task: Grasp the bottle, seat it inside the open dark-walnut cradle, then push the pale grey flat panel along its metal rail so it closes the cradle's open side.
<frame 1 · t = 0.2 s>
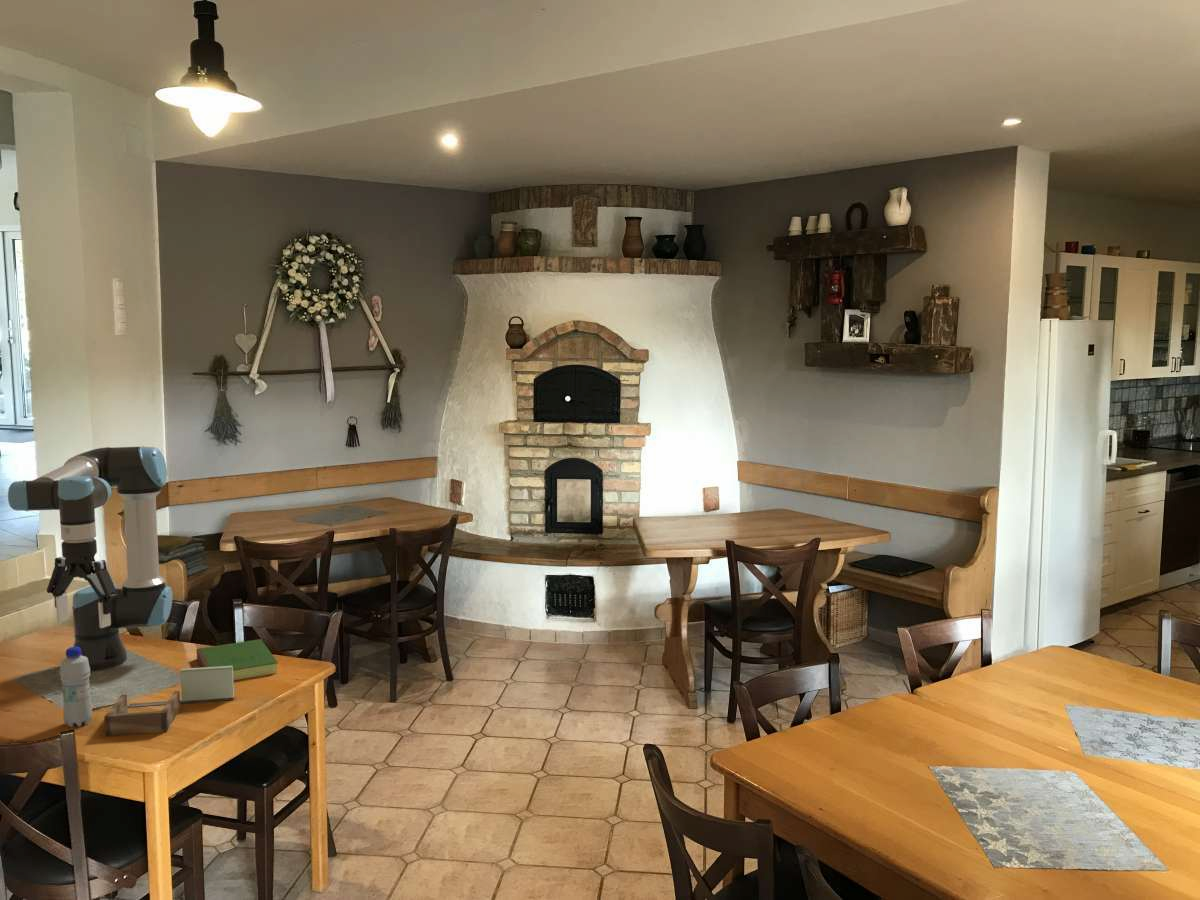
hand: (84, 623, 233), 26 cm above the table, fingers open, 13 cm apart
pale grey flat panel: (207, 683, 252), point 5 cm above the table, slide at 13.0 cm
bottle: (78, 724, 237), on the table
cradle: (144, 720, 239), on the table
hardcover book: (237, 668, 279), on the table
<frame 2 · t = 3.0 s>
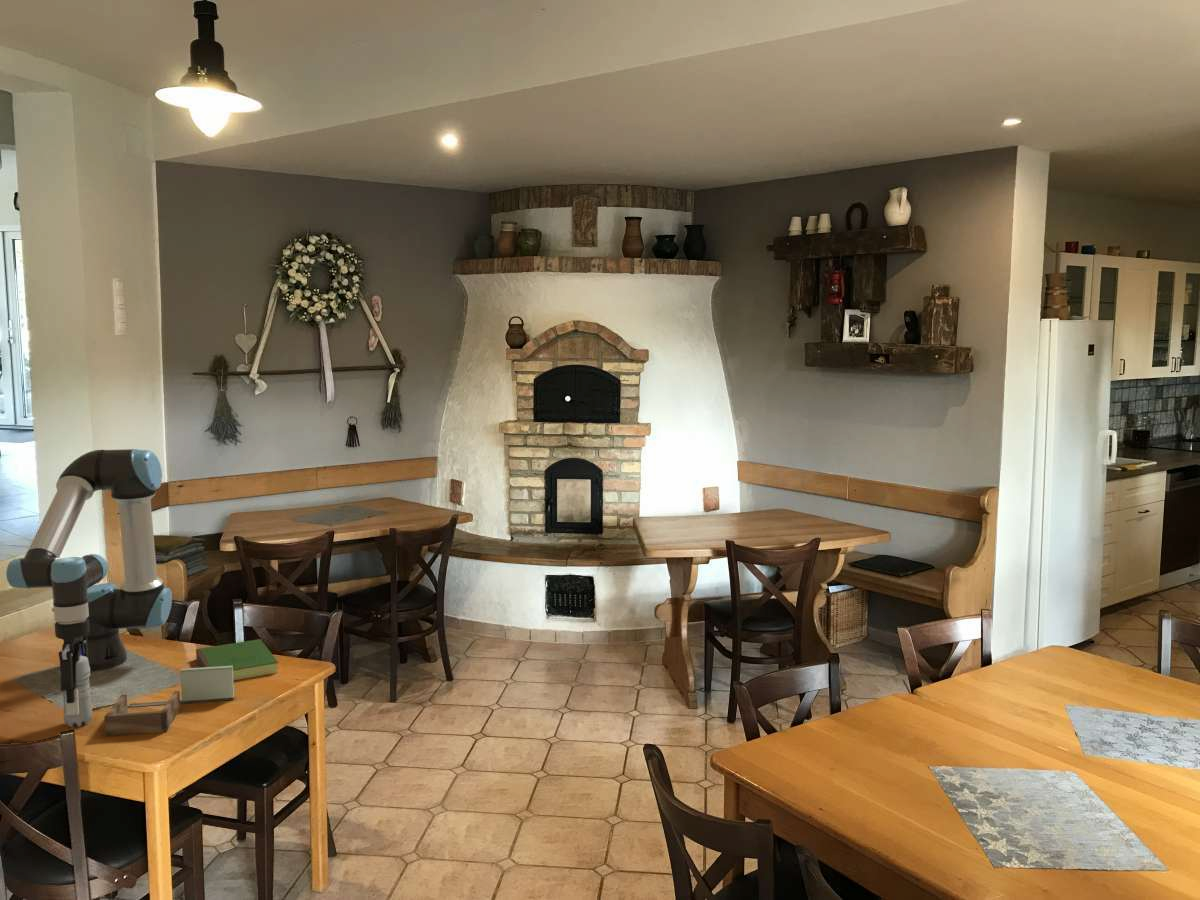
hand: (77, 708, 237), 4 cm above the table, fingers closed on bottle, 6 cm apart
bottle: (78, 724, 237), on the table, touching gripper
everything else where it was.
when the fingers open (6 cm above the table, at t = 9.6 s): bottle drops 2 cm, resting in cradle.
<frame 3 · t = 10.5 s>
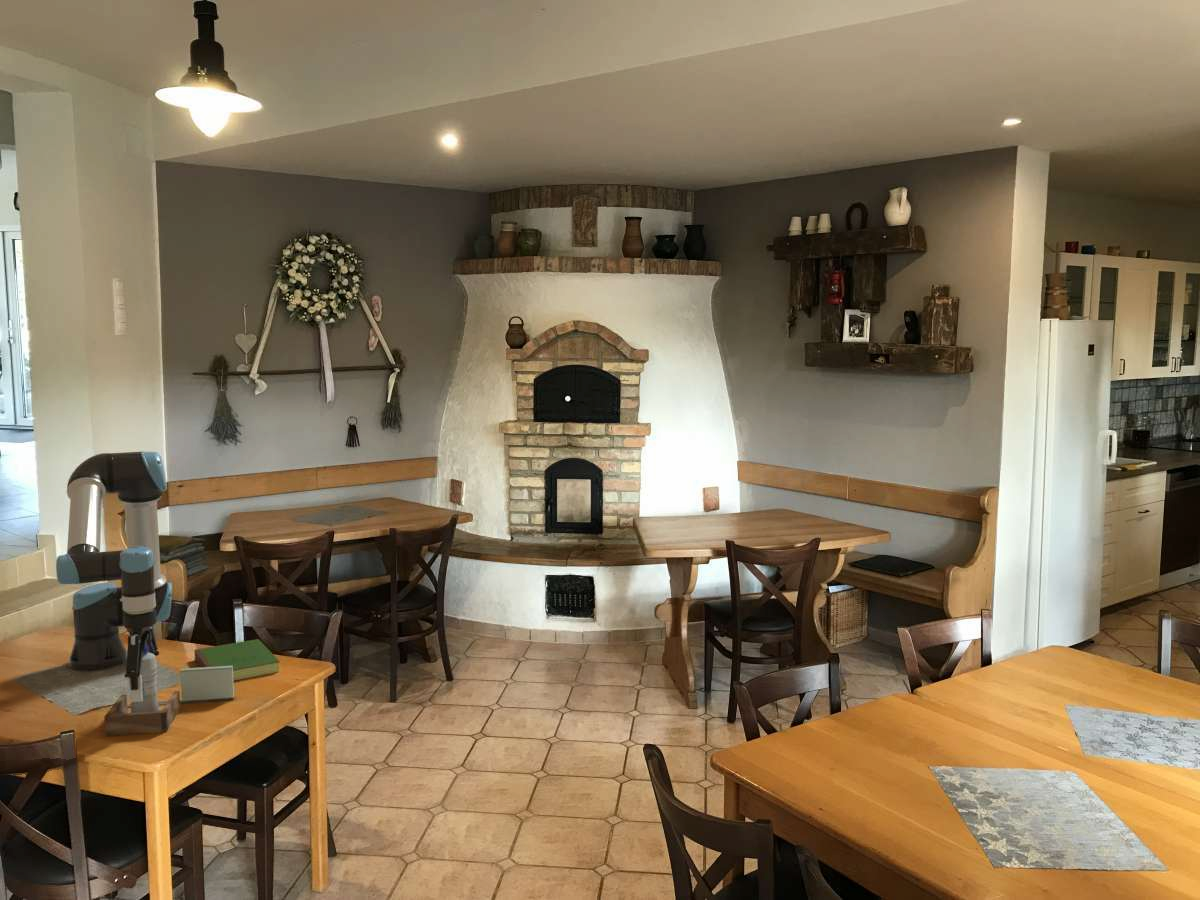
hand: (143, 691, 239), 8 cm above the table, fingers open, 13 cm apart
bottle: (145, 720, 240), resting in cradle
everything else where it was.
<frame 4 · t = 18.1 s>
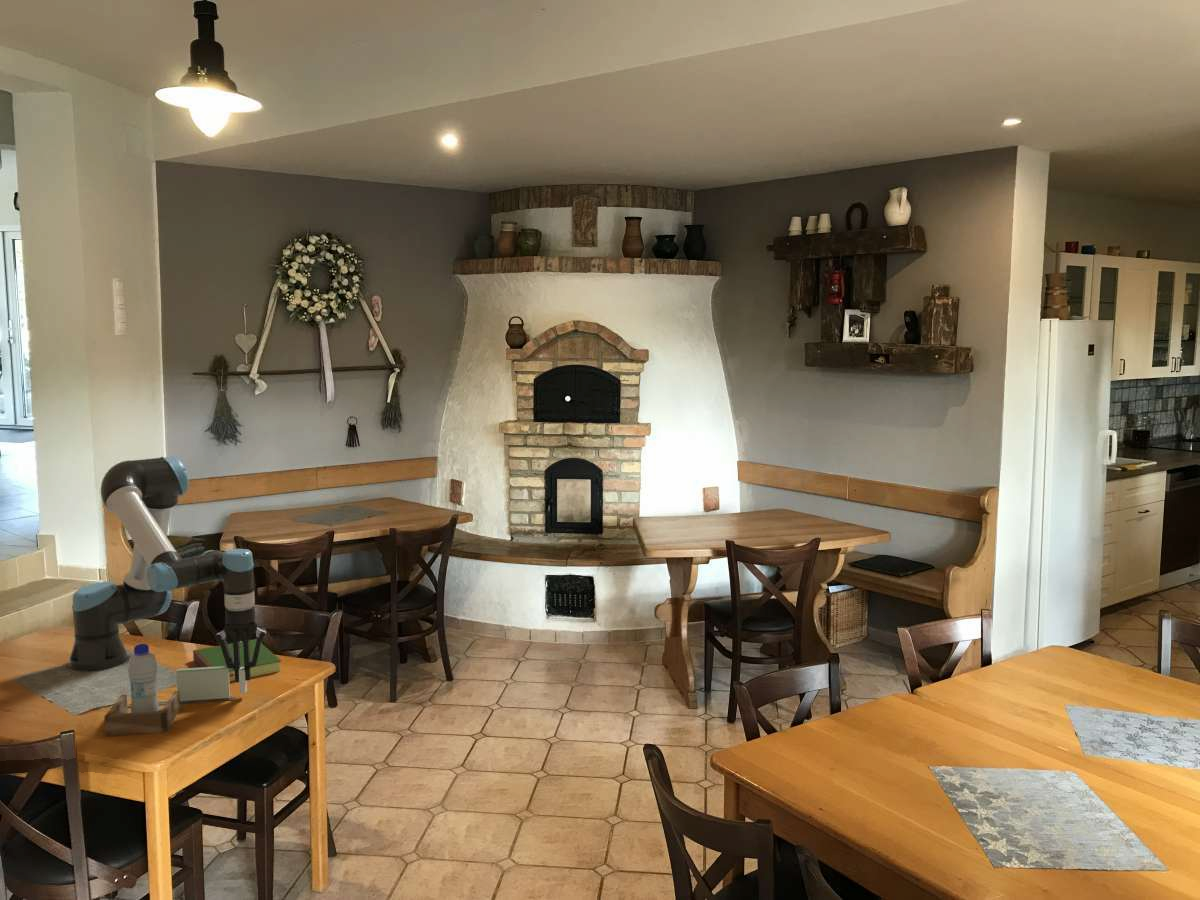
hand: (243, 691, 254), 2 cm above the table, fingers closed
pale grey flat panel: (203, 683, 252), point 5 cm above the table, slide at 12.0 cm, touching gripper
everything else where it was.
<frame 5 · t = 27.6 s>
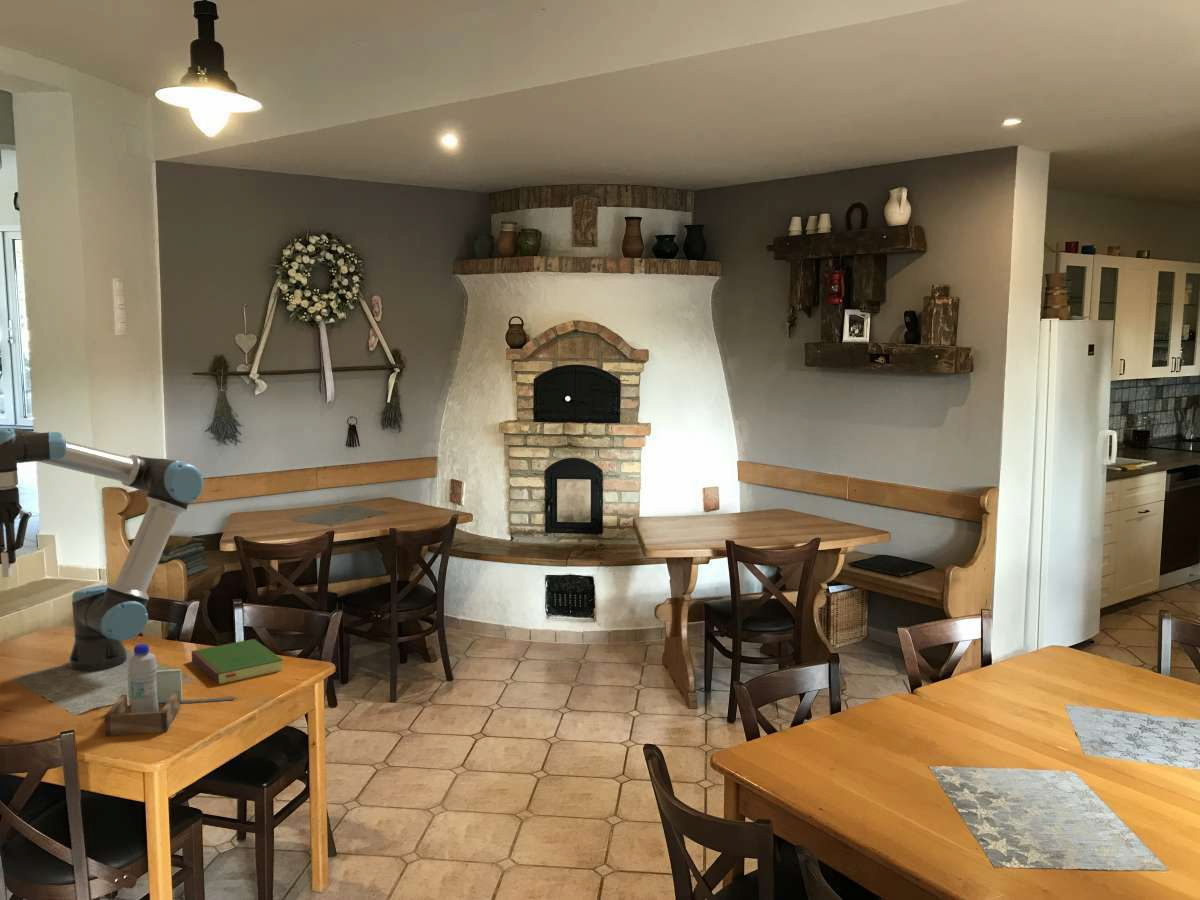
hand: (7, 575, 247), 34 cm above the table, fingers closed
pale grey flat panel: (155, 686, 249), point 5 cm above the table, slide at 0.0 cm
at the end: bottle inside the target area on the cradle (0.6 cm from its centre), point 0.0 cm above the cradle's base; bottle tilted 0°; pale grey flat panel slide at 0.0 cm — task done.
